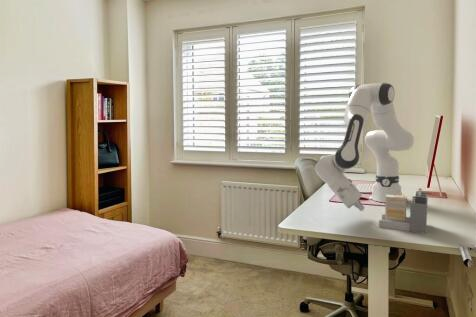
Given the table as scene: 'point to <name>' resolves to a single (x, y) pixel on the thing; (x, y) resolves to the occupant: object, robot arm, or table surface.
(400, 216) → the supplement box
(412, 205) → the gray l-shaped stand
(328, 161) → the robot arm
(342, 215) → the table surface
